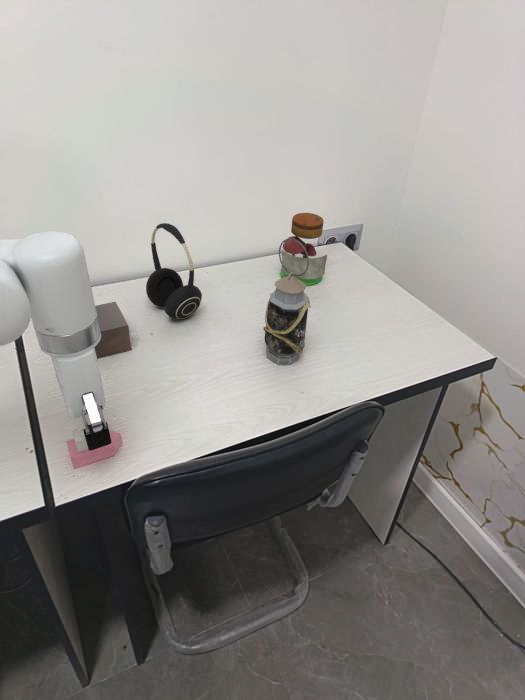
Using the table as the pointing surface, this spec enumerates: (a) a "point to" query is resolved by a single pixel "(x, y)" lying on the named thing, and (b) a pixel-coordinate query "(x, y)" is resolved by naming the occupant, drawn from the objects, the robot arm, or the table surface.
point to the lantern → (286, 318)
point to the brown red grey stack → (307, 229)
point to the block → (112, 331)
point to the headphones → (172, 283)
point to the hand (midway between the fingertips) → (91, 422)
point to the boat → (85, 456)
